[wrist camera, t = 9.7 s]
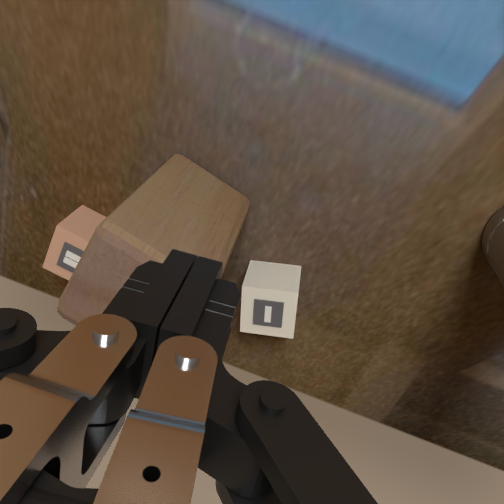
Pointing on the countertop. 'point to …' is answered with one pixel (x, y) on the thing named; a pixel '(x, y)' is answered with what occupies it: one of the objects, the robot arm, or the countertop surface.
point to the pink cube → (71, 241)
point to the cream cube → (270, 299)
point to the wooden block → (155, 233)
